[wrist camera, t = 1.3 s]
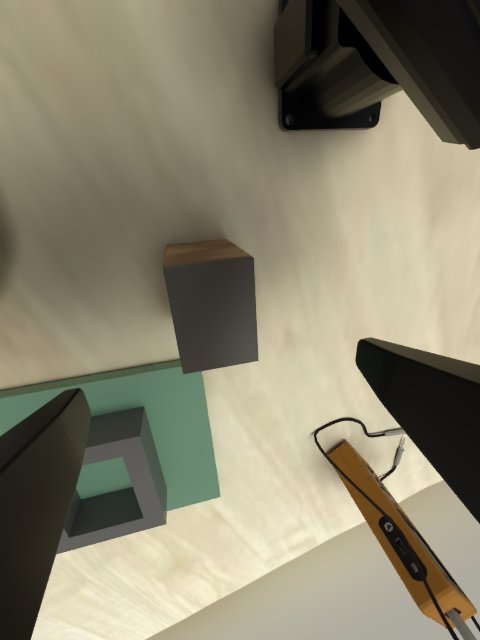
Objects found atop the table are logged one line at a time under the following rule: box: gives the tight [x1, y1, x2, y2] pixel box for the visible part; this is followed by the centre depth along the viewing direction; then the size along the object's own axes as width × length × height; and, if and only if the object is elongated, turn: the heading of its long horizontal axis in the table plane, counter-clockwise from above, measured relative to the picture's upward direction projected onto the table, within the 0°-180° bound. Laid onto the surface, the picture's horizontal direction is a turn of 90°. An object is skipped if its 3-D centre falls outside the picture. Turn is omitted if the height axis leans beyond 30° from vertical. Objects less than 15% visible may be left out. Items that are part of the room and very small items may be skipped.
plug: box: [163, 239, 258, 374], centre depth 16 cm, size 4×6×7 cm
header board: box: [0, 360, 220, 554], centre depth 21 cm, size 18×16×4 cm
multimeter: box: [314, 418, 480, 640], centre depth 22 cm, size 15×10×20 cm
